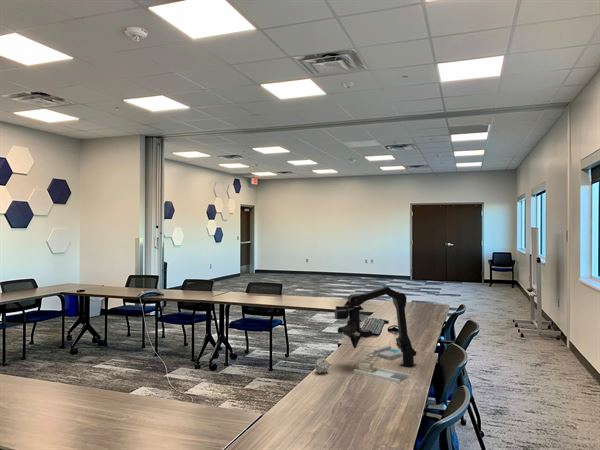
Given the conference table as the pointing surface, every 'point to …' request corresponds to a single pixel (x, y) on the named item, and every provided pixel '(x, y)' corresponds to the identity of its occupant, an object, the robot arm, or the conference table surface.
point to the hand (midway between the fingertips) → (354, 347)
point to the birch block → (367, 366)
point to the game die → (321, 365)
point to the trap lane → (385, 374)
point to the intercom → (386, 353)
